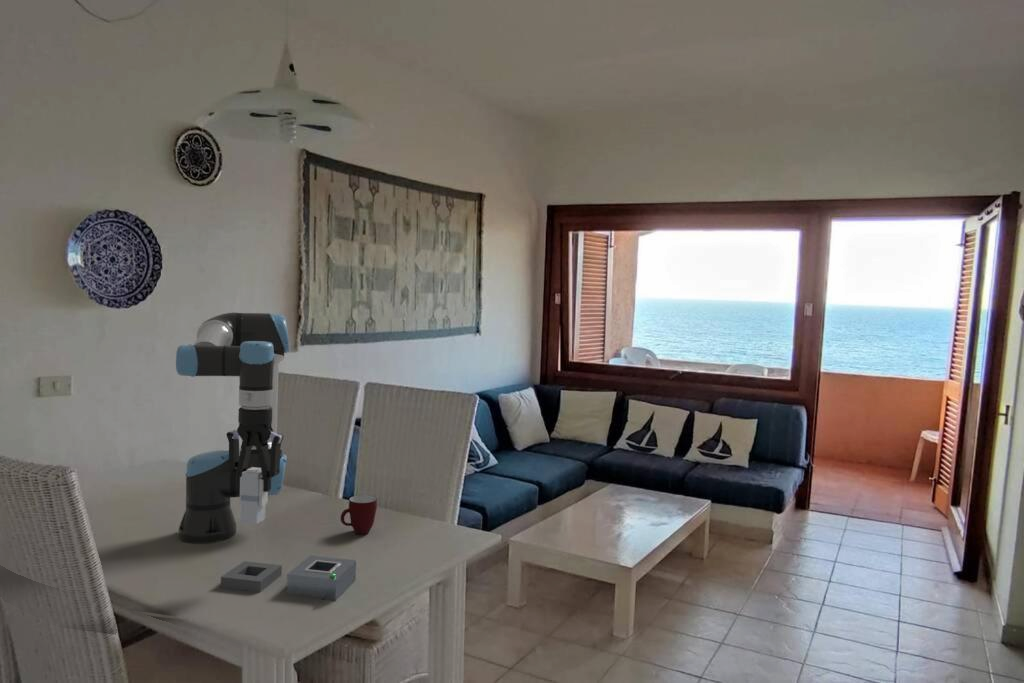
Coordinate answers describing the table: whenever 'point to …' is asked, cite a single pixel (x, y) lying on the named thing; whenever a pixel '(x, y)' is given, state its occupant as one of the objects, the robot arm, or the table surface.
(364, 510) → the mug
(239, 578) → the holster
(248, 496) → the plug
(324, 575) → the port
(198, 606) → the table surface
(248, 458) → the robot arm
